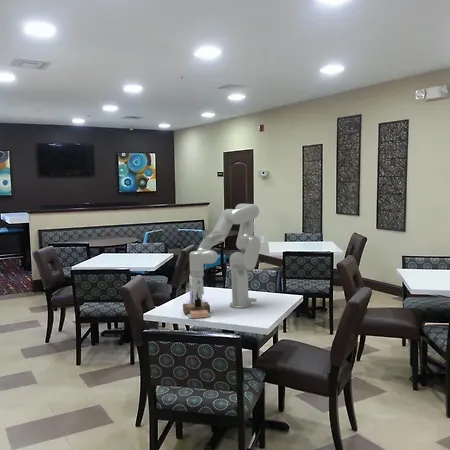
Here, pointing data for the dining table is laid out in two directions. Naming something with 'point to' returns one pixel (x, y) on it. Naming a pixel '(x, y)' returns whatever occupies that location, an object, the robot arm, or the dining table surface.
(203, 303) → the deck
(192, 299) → the candy box
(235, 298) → the robot arm
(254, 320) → the dining table surface
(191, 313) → the tile
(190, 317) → the mat
